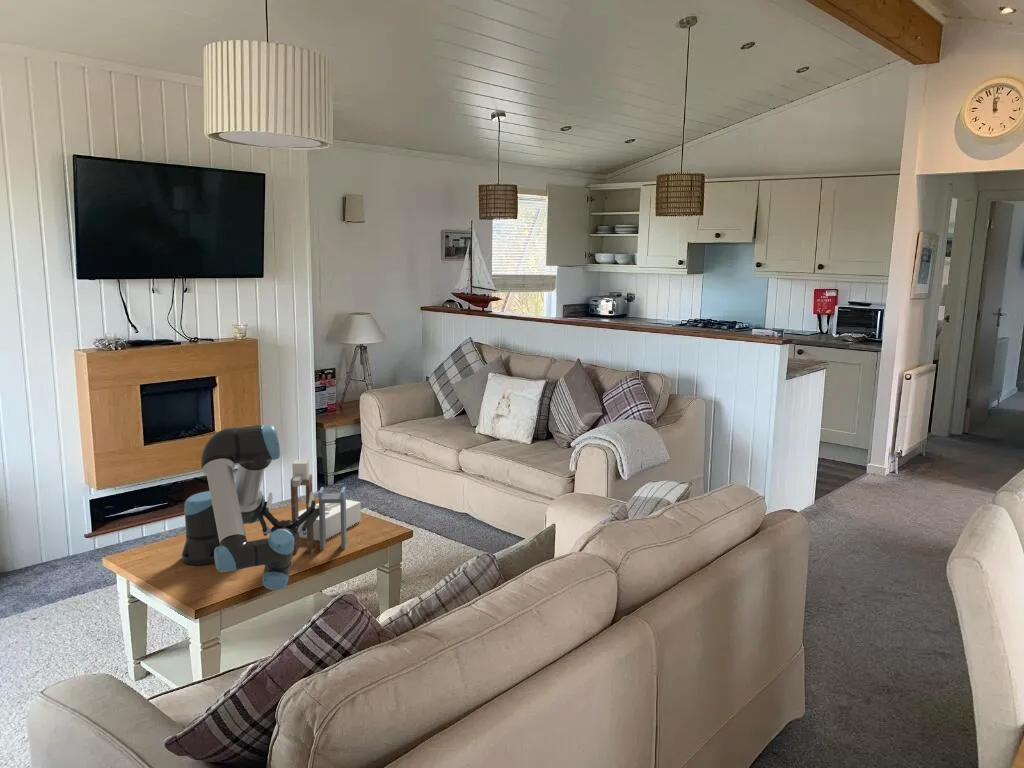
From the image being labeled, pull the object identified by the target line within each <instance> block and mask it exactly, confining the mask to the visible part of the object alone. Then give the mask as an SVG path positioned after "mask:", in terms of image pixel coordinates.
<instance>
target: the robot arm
mask: <svg viewBox="0 0 1024 768" xmlns="http://www.w3.org/2000/svg"><path fill="white" fill-rule="evenodd" d="M280 456H281V448H280V441H279V436H278V431H277V429H276V427H275V426H274V425H273V424H259V425H249V426H239V427H238V426H237V427H227V428H223V429H221V430H219V431H217V432H215V433H214V434H213V435H212V436H211V437H210V438H209V439H208V440H207V442H206V443H205V445H204V448H203V449H202V454H201V459H200V463H201V464H200V466H201V472H202V474H203V475H204V476H206V478H207V479H206V480H207V483H208V488H209V490H208V491H203V492H199V493H195V494H192V495H190V496H189V497H188V498H186V500H185V502H184V511H183V514H184V519H185V523H184V525H185V542H184V546H183V549H182V553H181V561H182V563H183V562H184V563H183V564H185V563H186V564H185V565H188V564H191V565H190V566H205V565H206V564H208V565H212V564H211V563H213V564H215V568H216V570H217V571H218V572H220V573H223V572H224V573H225V572H227V573H228V572H235V571H237V570H243V569H249V568H253V567H260V566H264V568H263V573H262V580H261V582H262V586H264V587H265V588H266V589H268V590H271V591H281V590H282V589H285V588H286V586H287V585H288V582H289V578H290V571H291V565H292V559H293V555H294V554H293V550H294V544H295V539H296V534H297V533H303V535H306V534H307V530H308V529H309V527H310V526H311V525H312V524H313V522H314V521H315V520H316V519H317V518H318V516H319V515H320V512H319V508H315V505H316V504H317V503H316V500H315V499H314V491H312V492H311V493H310V499H309V504H308V508H309V509H308V510H307V511H305V512H304V513H303V514H302V515H300V516H299V517H298V518H295V519H294V520H292V519H287V520H285V519H284V520H283V519H281V520H278V519H277V518H276V517H275V516H274V515H273V514H272V513H271V508H272V504H273V493H272V492H268V497H267V500H266V498H265V495H264V493H263V491H262V490H261V485H262V481H263V476H264V473H265V470H266V468H268V467H269V466H270V465H271V463H272V460H273V461H275V460H278V459H280V458H281V457H280ZM237 464H238V466H237V472H236V477H234V473H233V471H234V469H235V465H237ZM264 517H265V518H264ZM265 519H267V521H268V522H269V523H271V524H272V527H271V528H270V527H269V526H268V525H267V523H266V520H265ZM304 521H305V523H304V524H303V525H302V526H301V527H300V528H298V527H299V526H300V525H301V524H302V523H303V522H304ZM258 522H259V523H260V525H261V527H262V534H263V536H267V535H268V534H269V536H268V538H262V539H256V540H251V541H248V540H247V535H246V534H247V533H246V530H245V525H247V524H248V525H249V524H255V523H258ZM206 566H207V565H206Z"/></svg>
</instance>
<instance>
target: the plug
mask: <svg viewBox="0 0 1024 768" xmlns="http://www.w3.org/2000/svg"><path fill="white" fill-rule="evenodd" d="M309 462H310V461H309V459H295V460H294V461H293V462H292V463H291V465H292V477H293V481H292V483H293V487H300V486H301V485H300V484H301V482H302V481H303V480H307V479H308V477H309V475H310V463H309Z"/></svg>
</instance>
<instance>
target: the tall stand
mask: <svg viewBox="0 0 1024 768" xmlns="http://www.w3.org/2000/svg"><path fill="white" fill-rule="evenodd" d="M292 481H293V476H292V477H291V479H290V505H291V508H290V509H291V521H292V520H294V519H295V518H298V517H299V514H298V512H299V491H298V490H299V488H298V487H293V483H292ZM300 486H305V507H306V508H305V509H306V511H307V510H308V509H309V508H308V504H309V499H310V493H311V492H313V474H309V477H308V479H307V480H303V481H302V482H301V484H300ZM298 528H299V527H298ZM306 539H307V541H306V543H307V544H306V545H307V546H306V547H307V554H308V555H309V554H312V553H313V550H314V548H315V540H314V531H313V524H312V525H311V526H310V527H309V529H308V530H307V538H306ZM300 547H301V546H300V537H299V533H297V534H296V539H295V544H294V550H293V555H297V553H298V551H299V549H300Z"/></svg>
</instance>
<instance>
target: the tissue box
mask: <svg viewBox="0 0 1024 768" xmlns="http://www.w3.org/2000/svg"><path fill="white" fill-rule="evenodd" d="M315 504H316V505H315V508H319V502H317V503H315ZM361 504H362V503H361V501H356V500H351V499H348V498H347V497H346V530H347V528H348V527H350V526H351V527H353V526H355V525H356V524H355V523H357V522H359V521H361V522H362V511H361V509H362V508H361V507H362V505H361ZM305 511H306V508H304V509H302V510H298V514H299V516H300V515H302V514H303V513H304V512H305ZM304 523H305V521H304V522H303V523H302V524H301V525H300V526H299V528H300V527H301V526H302V525H303V524H304ZM359 523H360V522H359ZM354 524H355V525H354ZM357 524H358V523H357ZM352 525H353V526H352ZM325 526H326V540H327V538H328V539H330V538H331V536H332V537H334V536H336V535H337V533H338V534H340V533H341V509H340V503H325ZM351 527H350V528H351ZM348 529H349V528H348ZM313 531H314V541H317V540H319V541H318V542H320V529H319V516H318V518H317V519H316V520H315V521H314V522H313ZM339 532H340V533H339ZM335 534H336V535H335ZM333 535H334V536H333ZM329 537H330V538H329ZM299 538H303V539H307V534H306V535H303V533H299Z"/></svg>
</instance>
